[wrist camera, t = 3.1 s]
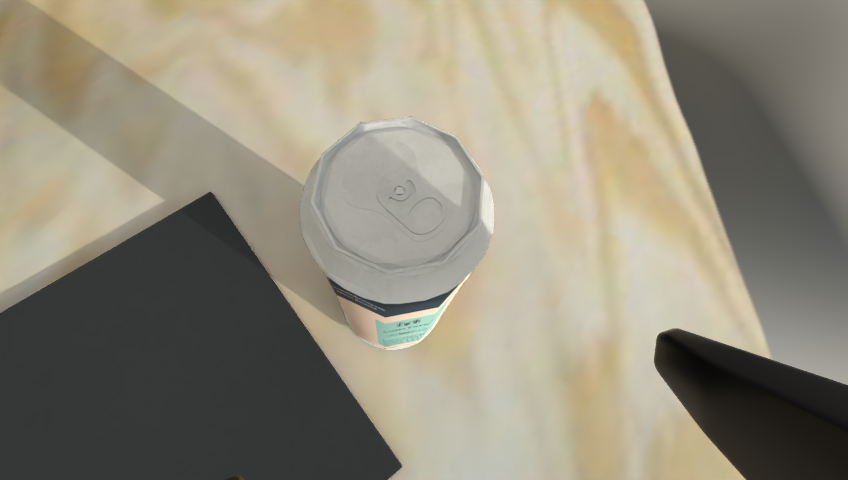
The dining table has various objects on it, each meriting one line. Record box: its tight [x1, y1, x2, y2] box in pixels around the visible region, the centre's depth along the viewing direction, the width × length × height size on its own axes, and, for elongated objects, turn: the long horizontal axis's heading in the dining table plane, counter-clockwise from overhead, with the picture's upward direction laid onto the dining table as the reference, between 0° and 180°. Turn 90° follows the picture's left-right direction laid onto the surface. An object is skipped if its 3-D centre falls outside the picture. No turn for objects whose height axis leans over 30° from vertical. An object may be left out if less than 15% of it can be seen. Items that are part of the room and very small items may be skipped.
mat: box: [0, 192, 402, 480], centre depth 18 cm, size 16×18×1 cm
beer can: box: [300, 116, 494, 350], centre depth 15 cm, size 5×5×12 cm
